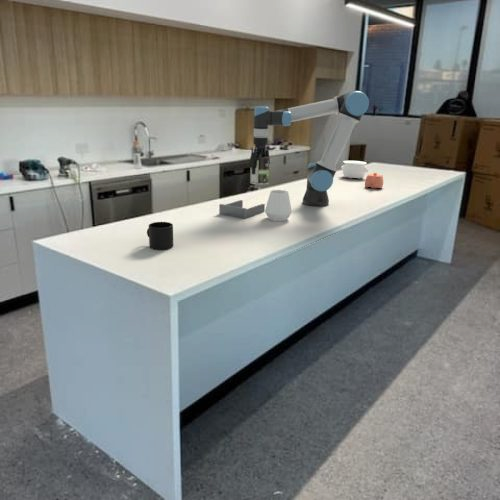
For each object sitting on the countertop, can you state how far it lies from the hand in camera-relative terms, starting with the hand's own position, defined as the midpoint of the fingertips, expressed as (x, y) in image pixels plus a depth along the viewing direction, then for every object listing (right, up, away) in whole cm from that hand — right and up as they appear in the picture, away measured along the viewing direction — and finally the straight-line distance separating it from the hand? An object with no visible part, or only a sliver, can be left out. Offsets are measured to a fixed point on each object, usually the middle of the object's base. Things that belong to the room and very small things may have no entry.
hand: (259, 178), depth 250 cm
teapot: (+81, +4, +70) cm, 107 cm away
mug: (-42, -37, -65) cm, 86 cm away
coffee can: (0, -2, +1) cm, 3 cm away
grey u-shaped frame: (-9, -19, -9) cm, 23 cm away
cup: (+9, -23, -19) cm, 31 cm away
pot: (+75, +17, +108) cm, 133 cm away
